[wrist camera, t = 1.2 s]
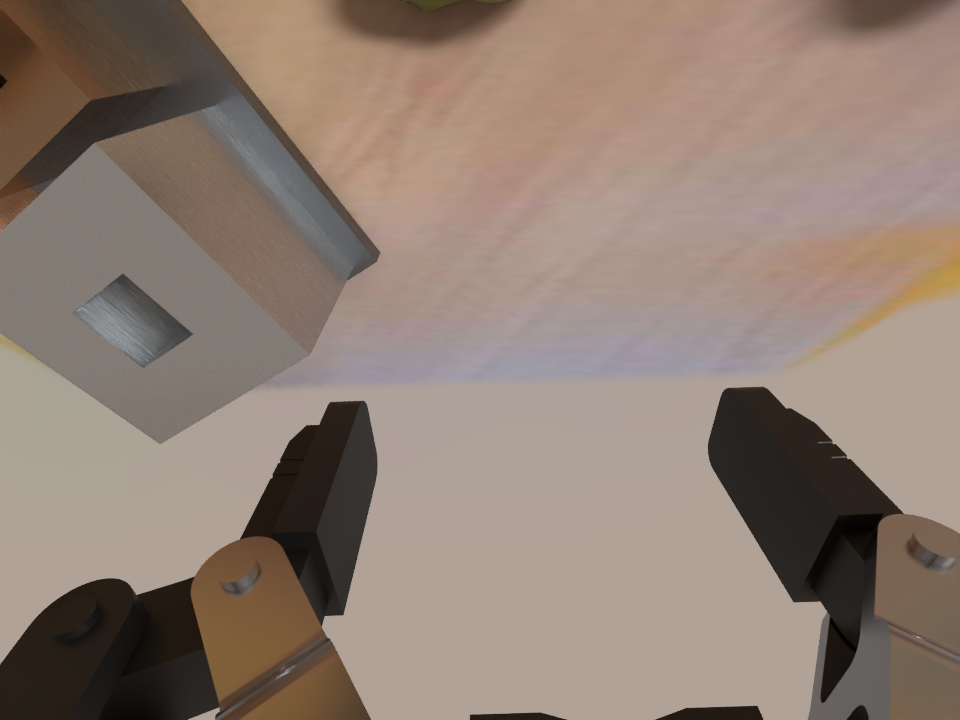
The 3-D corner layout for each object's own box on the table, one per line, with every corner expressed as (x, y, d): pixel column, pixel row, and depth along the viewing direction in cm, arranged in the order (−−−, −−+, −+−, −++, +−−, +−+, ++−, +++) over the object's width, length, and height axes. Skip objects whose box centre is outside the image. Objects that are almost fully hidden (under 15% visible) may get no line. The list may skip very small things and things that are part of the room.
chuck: (-93, 52, 25) (-434, 68, 16) (63, -149, 21) (-273, -291, 11) (234, 346, 36) (150, 459, 26) (380, 252, 32) (341, 348, 22)
